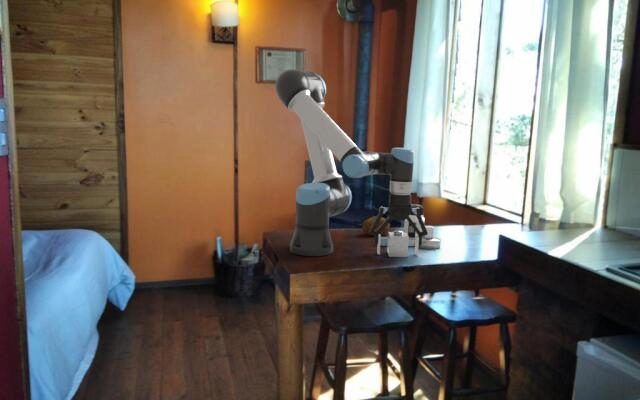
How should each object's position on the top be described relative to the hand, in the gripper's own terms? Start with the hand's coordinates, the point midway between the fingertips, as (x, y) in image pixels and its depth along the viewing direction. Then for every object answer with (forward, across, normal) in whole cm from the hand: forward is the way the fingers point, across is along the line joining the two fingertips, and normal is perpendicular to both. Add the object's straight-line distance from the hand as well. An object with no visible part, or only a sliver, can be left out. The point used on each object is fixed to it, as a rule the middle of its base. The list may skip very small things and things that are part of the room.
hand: (397, 253), depth 180 cm
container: (0, +10, +27) cm, 29 cm away
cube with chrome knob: (0, 0, 0) cm, 0 cm away
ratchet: (0, +6, +13) cm, 14 cm away
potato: (0, -5, +29) cm, 29 cm away
